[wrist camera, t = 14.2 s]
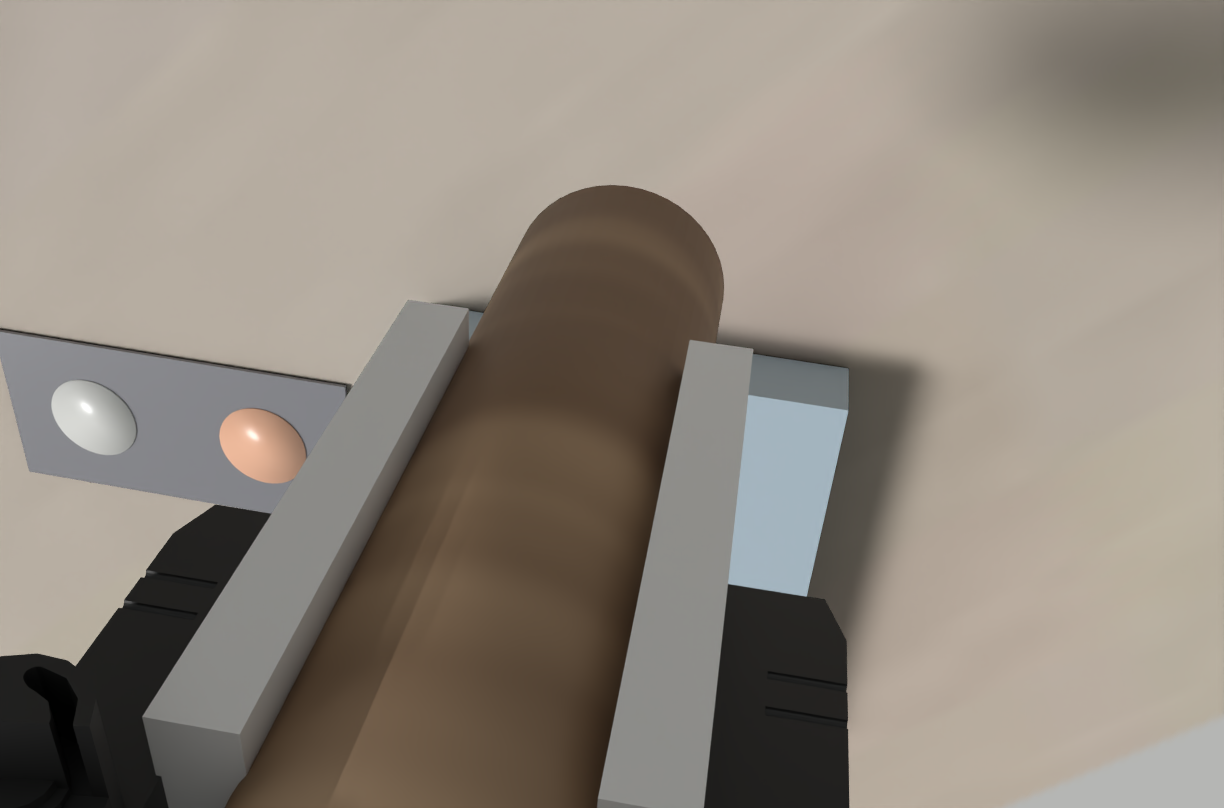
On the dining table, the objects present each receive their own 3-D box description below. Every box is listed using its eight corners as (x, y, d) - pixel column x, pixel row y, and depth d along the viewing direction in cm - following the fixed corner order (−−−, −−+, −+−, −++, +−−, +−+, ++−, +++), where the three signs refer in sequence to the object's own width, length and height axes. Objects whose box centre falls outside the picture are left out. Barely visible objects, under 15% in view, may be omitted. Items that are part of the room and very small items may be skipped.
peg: (517, 172, 17) (62, 931, 7) (737, 200, 16) (592, 1037, 7) (513, 358, 19) (148, 1174, 9) (711, 386, 18) (566, 1267, 8)
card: (-5, 328, 30) (-8, 331, 30) (345, 385, 29) (344, 388, 29) (31, 469, 33) (28, 472, 33) (355, 525, 32) (353, 528, 32)
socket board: (428, 304, 27) (403, 341, 26) (848, 368, 26) (848, 410, 25) (434, 661, 34) (414, 706, 33) (770, 723, 33) (766, 774, 31)
